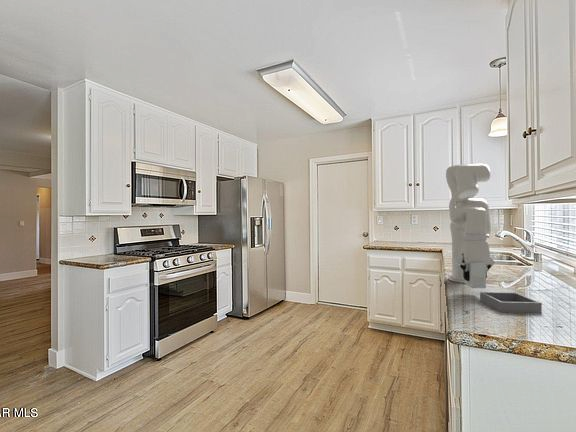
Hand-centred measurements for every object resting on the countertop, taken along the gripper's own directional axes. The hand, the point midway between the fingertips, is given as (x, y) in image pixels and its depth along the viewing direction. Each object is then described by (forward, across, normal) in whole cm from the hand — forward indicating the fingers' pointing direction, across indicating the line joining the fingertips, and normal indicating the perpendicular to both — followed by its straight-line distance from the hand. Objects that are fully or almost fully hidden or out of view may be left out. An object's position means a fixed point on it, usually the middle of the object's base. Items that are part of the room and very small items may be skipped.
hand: (474, 279), depth 131 cm
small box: (+3, 0, 0) cm, 3 cm away
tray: (+6, -5, +15) cm, 17 cm away
